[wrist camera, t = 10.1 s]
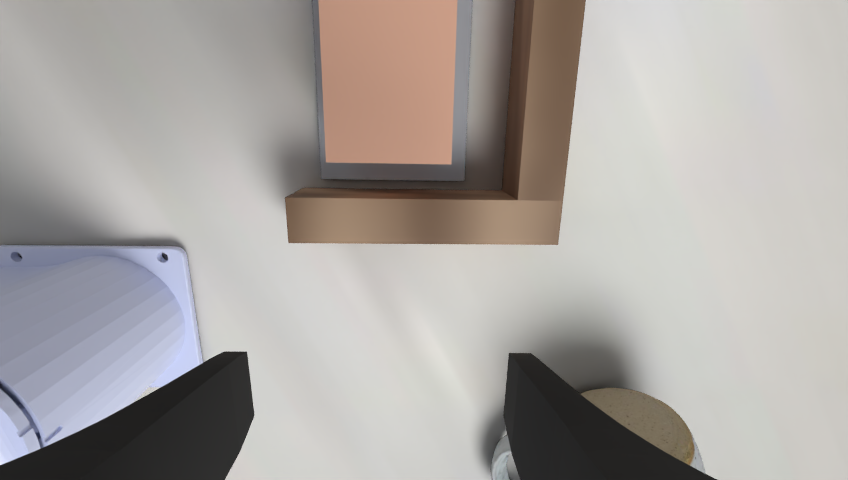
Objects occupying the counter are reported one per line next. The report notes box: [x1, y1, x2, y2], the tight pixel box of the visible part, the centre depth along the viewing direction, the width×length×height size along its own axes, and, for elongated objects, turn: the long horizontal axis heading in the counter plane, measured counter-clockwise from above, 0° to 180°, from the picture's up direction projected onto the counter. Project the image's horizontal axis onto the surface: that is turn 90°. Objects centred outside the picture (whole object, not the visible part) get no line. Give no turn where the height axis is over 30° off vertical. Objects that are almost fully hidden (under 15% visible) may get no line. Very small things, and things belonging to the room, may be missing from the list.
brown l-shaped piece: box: [285, 0, 586, 245], centre depth 17 cm, size 12×16×3 cm
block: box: [318, 0, 457, 164], centre depth 16 cm, size 8×4×5 cm, turn 179°
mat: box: [312, 0, 473, 181], centre depth 18 cm, size 7×10×1 cm
